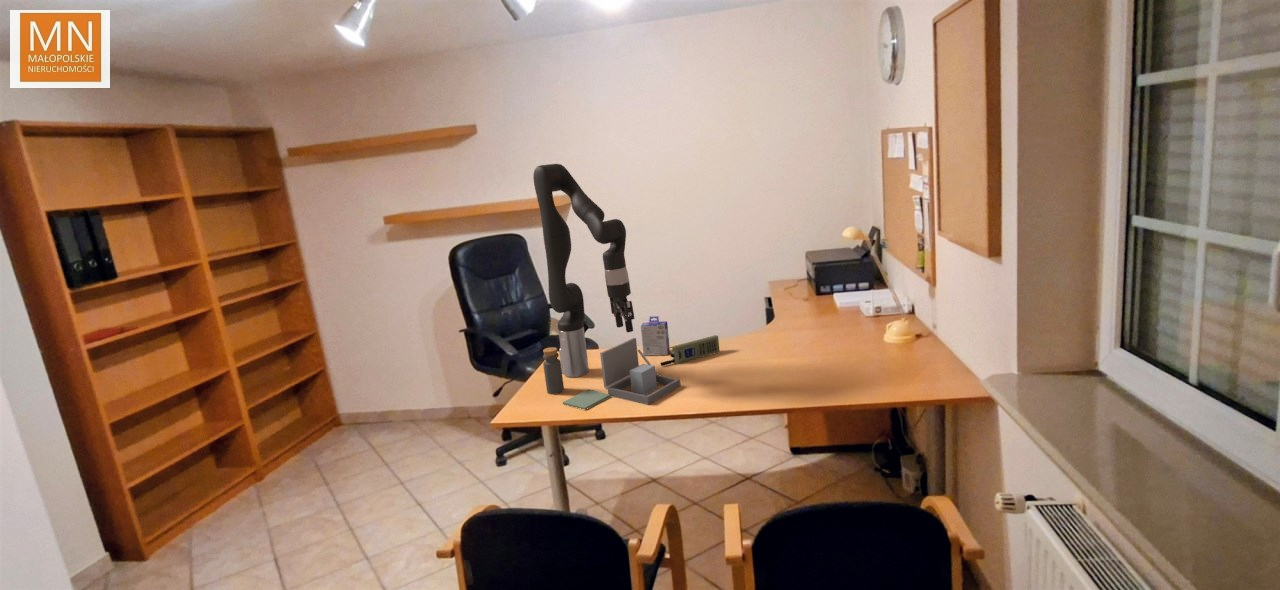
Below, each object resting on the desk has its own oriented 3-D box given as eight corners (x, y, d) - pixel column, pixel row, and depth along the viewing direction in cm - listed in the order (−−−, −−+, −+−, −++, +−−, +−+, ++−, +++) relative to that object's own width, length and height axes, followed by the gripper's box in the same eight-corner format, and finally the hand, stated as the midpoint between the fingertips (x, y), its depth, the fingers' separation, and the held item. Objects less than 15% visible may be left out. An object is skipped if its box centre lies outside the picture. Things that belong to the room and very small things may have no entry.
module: (631, 393, 207) (629, 370, 205) (645, 386, 212) (643, 363, 210) (643, 396, 204) (641, 372, 202) (657, 388, 209) (654, 365, 207)
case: (648, 404, 196) (643, 360, 193) (604, 394, 208) (600, 352, 205) (682, 385, 210) (679, 343, 206) (640, 376, 221) (636, 337, 218)
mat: (562, 404, 203) (562, 402, 203) (588, 391, 212) (588, 389, 212) (584, 410, 197) (584, 407, 197) (610, 396, 206) (610, 394, 206)
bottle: (557, 386, 220) (551, 345, 216) (567, 390, 215) (562, 348, 212) (543, 392, 216) (537, 350, 212) (554, 395, 212) (548, 353, 208)
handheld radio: (720, 353, 238) (663, 368, 227) (716, 351, 241) (659, 366, 230) (719, 336, 237) (661, 351, 226) (714, 334, 240) (657, 349, 229)
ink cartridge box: (670, 350, 246) (667, 315, 243) (668, 355, 241) (665, 319, 237) (645, 351, 248) (642, 316, 245) (643, 356, 243) (639, 320, 239)
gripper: (599, 281, 210) (606, 328, 213) (614, 286, 197) (622, 336, 200) (620, 276, 212) (627, 323, 216) (636, 281, 200) (643, 330, 203)
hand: (624, 329), depth 208 cm, fingers open, 8 cm apart
